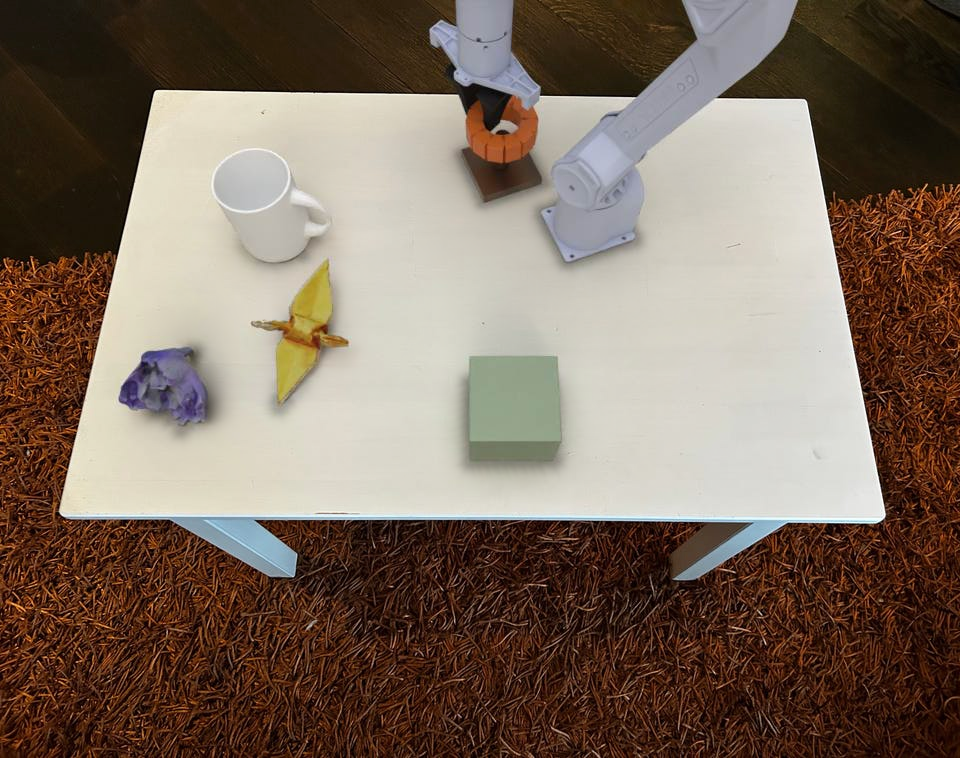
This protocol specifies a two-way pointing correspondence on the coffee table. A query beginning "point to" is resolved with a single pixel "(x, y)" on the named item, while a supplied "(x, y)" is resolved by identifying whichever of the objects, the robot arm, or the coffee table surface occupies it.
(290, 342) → the origami crane
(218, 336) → the coffee table surface
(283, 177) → the mug
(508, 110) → the ring
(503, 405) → the block
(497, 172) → the stand
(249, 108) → the coffee table surface
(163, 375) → the purple lumpy chunk
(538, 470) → the coffee table surface
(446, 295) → the coffee table surface
